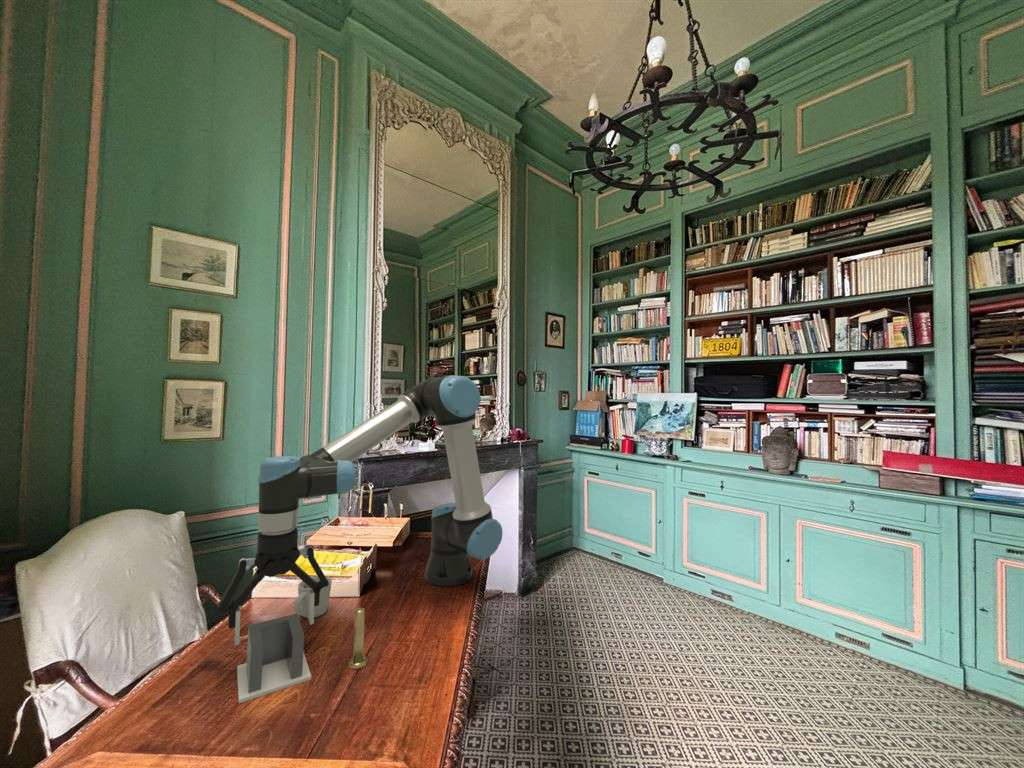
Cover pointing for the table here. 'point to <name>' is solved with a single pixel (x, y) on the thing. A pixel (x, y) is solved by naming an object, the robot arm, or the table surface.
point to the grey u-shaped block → (274, 647)
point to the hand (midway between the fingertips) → (275, 631)
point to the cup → (303, 597)
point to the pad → (270, 679)
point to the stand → (358, 641)
